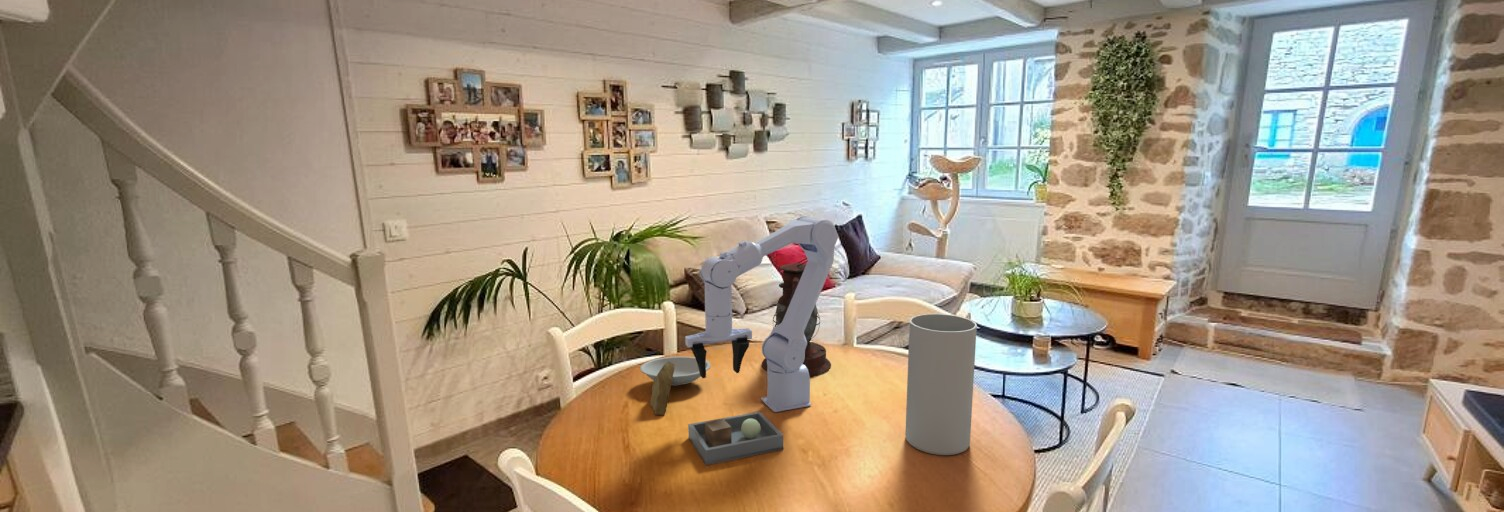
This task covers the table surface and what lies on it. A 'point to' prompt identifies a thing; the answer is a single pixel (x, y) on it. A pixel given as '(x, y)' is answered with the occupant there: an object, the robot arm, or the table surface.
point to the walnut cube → (717, 433)
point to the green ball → (750, 428)
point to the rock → (662, 388)
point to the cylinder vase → (940, 383)
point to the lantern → (813, 351)
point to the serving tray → (737, 440)
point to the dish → (675, 369)
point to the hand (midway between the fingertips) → (719, 374)
